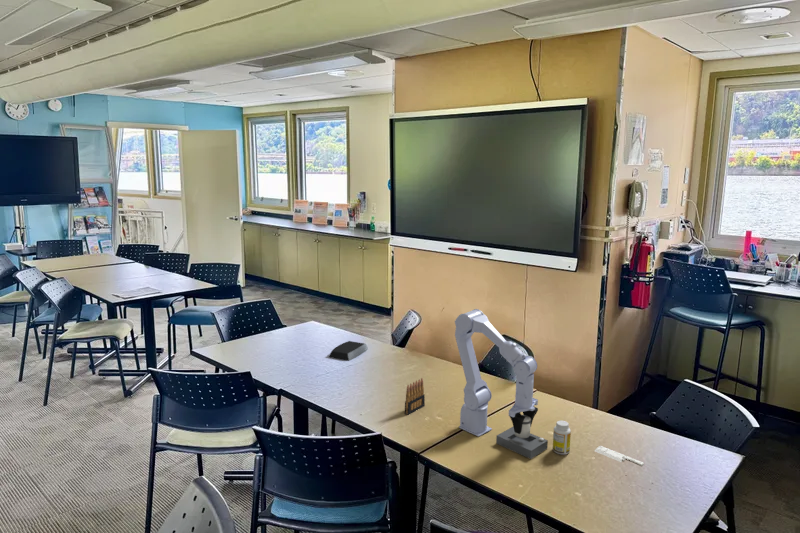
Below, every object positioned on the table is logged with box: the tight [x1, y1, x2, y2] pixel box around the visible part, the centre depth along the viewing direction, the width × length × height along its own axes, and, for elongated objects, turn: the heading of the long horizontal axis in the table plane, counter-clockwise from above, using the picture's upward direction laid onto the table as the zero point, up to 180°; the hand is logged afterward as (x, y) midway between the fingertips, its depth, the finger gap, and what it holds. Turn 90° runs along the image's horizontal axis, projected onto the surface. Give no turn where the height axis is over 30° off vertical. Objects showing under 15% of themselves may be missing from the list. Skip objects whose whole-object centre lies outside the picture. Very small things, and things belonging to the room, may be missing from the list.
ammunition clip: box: [404, 377, 426, 416], centre depth 214 cm, size 11×2×12 cm, turn 141°
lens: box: [514, 414, 532, 438], centre depth 187 cm, size 5×5×6 cm
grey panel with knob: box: [495, 426, 549, 460], centre depth 188 cm, size 14×10×4 cm
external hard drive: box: [328, 340, 369, 362], centre depth 279 cm, size 13×19×4 cm
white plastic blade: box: [594, 445, 645, 467], centre depth 181 cm, size 5×15×1 cm, turn 43°
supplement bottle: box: [552, 420, 572, 455], centre depth 184 cm, size 6×6×10 cm
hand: (522, 429), depth 187 cm, fingers closed on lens, 5 cm apart
